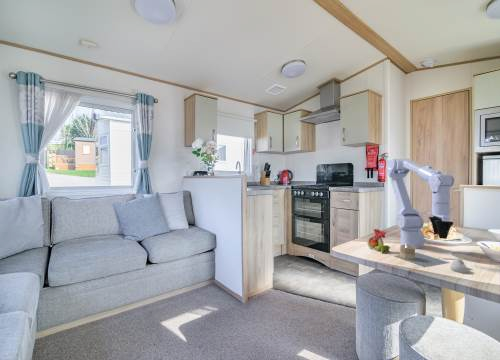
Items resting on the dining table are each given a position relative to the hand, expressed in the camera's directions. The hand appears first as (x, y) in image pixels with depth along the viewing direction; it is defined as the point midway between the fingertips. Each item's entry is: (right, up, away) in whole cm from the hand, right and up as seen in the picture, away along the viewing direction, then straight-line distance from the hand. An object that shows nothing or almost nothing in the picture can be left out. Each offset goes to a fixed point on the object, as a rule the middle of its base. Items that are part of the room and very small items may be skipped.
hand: (440, 236), depth 98 cm
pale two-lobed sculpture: (-2, -11, -12) cm, 16 cm away
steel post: (-13, -9, 0) cm, 16 cm away
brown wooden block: (-13, -9, 0) cm, 16 cm away
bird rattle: (-20, -10, +10) cm, 25 cm away
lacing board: (-9, -10, -1) cm, 13 cm away
